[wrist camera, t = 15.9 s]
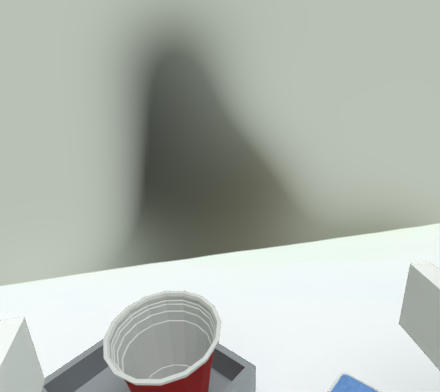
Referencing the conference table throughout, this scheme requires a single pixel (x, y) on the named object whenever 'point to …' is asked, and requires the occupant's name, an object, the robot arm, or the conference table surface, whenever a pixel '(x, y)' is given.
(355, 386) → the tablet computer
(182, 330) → the plastic cup
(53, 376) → the bin
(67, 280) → the conference table surface
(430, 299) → the robot arm
